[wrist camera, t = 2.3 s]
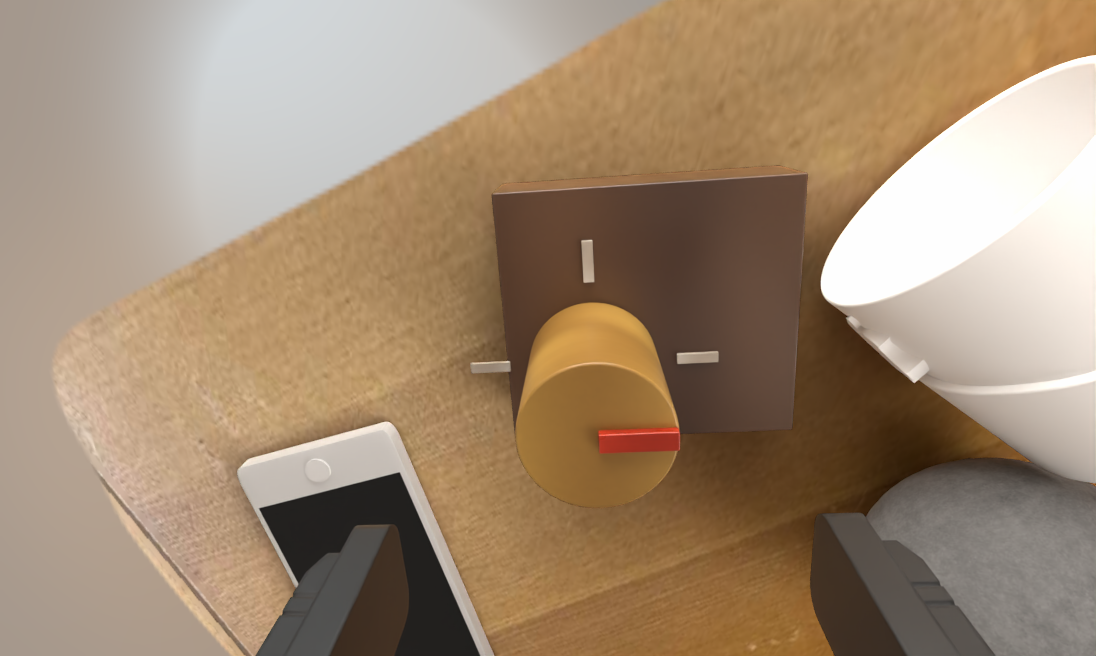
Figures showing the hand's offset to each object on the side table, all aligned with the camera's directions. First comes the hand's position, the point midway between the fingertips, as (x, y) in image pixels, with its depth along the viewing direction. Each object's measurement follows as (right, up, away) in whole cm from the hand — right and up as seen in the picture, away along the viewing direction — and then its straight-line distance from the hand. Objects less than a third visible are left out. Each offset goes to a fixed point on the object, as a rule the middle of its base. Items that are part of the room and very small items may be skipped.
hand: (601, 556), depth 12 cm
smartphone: (-9, -7, +17) cm, 21 cm away
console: (+3, +6, +12) cm, 14 cm away
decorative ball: (+15, -4, +15) cm, 22 cm away
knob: (+1, +3, +10) cm, 10 cm away
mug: (+15, +8, +11) cm, 21 cm away
